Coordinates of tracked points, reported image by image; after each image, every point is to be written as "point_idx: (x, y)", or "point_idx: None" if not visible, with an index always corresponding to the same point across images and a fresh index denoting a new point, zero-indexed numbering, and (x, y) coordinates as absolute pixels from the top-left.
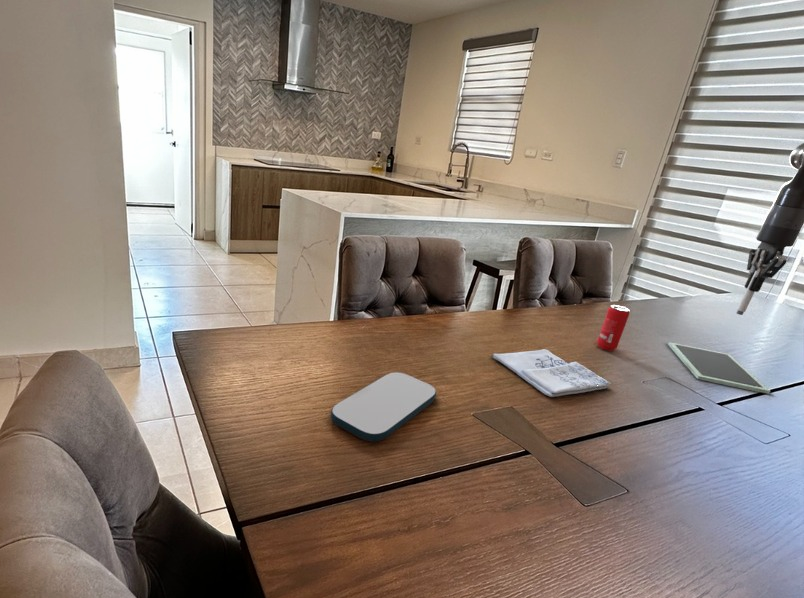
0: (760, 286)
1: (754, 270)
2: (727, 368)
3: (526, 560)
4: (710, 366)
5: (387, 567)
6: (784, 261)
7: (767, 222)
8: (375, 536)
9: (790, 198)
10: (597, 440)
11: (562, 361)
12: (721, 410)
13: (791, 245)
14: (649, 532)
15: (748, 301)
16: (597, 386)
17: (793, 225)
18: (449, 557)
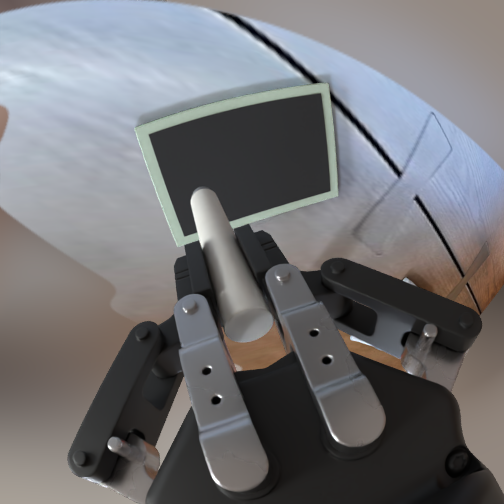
0: (274, 244)
1: (225, 346)
2: (261, 141)
3: (499, 261)
4: (275, 173)
5: (494, 285)
6: (476, 327)
7: None
8: (488, 293)
9: None
10: (460, 262)
11: None
12: (412, 175)
13: (487, 481)
14: (499, 231)
15: (224, 213)
16: (415, 285)
17: None
18: (495, 277)
